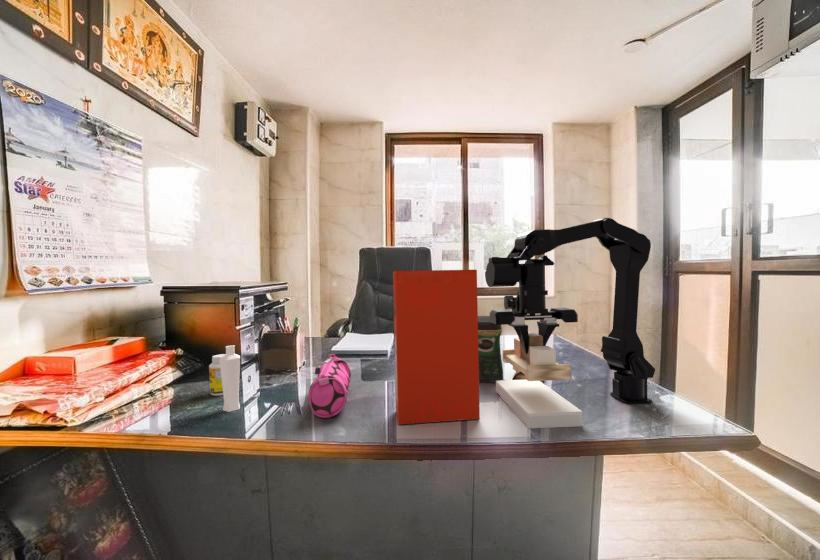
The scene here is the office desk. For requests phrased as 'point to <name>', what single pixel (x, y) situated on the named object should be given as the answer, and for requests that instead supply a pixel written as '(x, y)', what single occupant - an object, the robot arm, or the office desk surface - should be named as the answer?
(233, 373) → the white plastic bottle
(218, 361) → the supplement bottle
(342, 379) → the pencil case
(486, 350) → the coffee jar
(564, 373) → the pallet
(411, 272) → the file binder
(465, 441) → the office desk surface
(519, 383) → the white flat block
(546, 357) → the cream crate
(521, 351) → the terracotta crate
